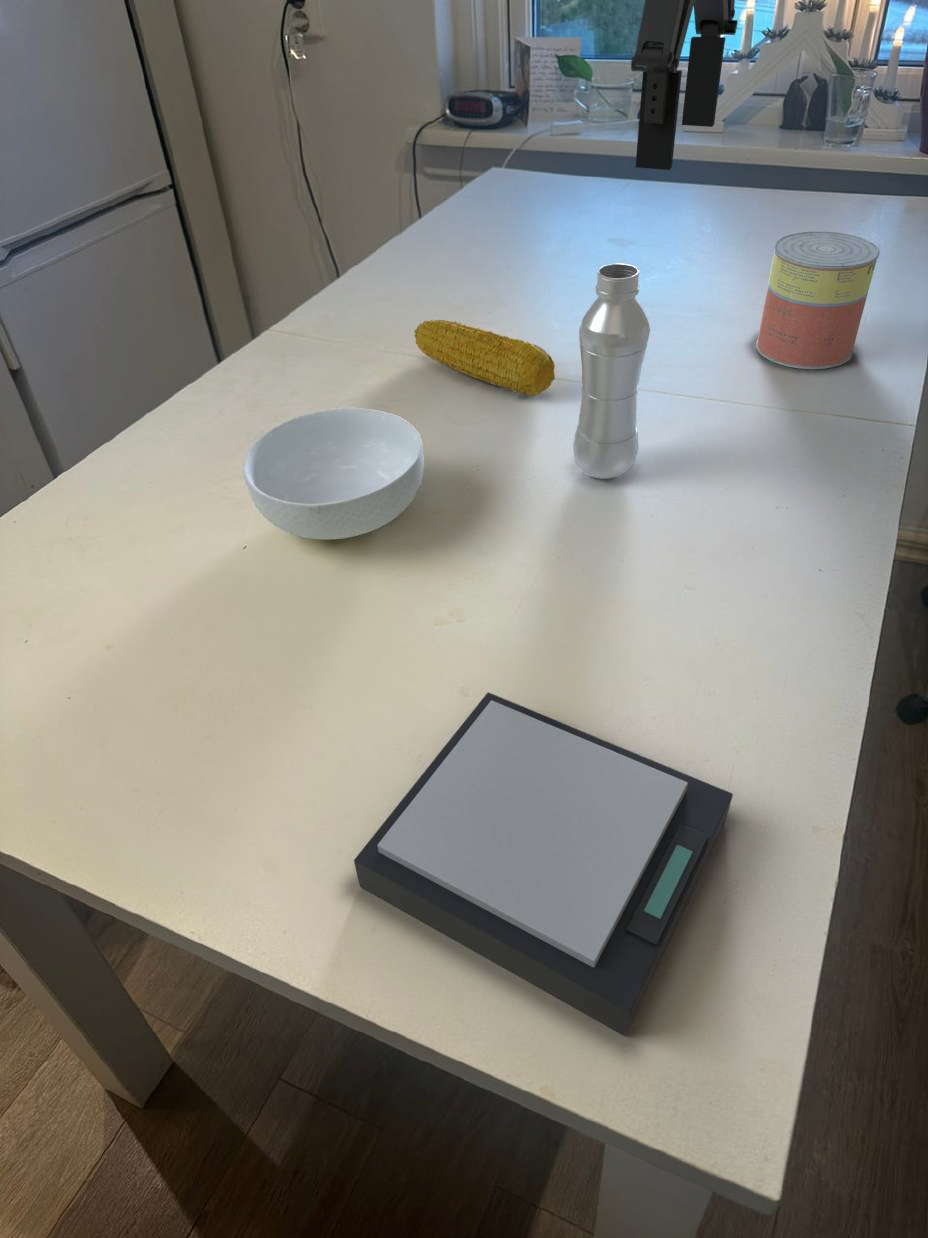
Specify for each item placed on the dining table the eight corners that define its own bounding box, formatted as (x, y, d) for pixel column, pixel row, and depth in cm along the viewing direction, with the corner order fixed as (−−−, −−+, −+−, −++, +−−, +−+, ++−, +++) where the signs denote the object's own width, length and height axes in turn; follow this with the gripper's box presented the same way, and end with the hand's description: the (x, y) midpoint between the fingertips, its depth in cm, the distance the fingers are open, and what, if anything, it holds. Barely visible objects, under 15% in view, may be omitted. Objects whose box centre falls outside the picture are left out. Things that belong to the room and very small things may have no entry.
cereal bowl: (310, 456, 94) (298, 395, 89) (454, 481, 89) (450, 419, 84) (223, 547, 82) (204, 484, 77) (383, 582, 77) (374, 516, 72)
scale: (725, 821, 57) (735, 785, 55) (625, 1037, 47) (631, 1005, 45) (489, 719, 65) (487, 683, 62) (359, 887, 55) (351, 853, 52)
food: (561, 391, 102) (562, 342, 98) (530, 410, 99) (530, 360, 95) (431, 344, 113) (427, 298, 109) (400, 359, 110) (395, 313, 106)
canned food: (872, 360, 104) (901, 257, 96) (787, 376, 102) (810, 272, 94) (818, 323, 112) (840, 225, 104) (738, 337, 110) (755, 239, 102)
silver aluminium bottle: (559, 475, 88) (566, 277, 75) (591, 445, 93) (603, 252, 79) (617, 493, 86) (634, 291, 72) (647, 462, 90) (669, 264, 76)
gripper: (704, -201, 68) (673, 107, 82) (599, -202, 52) (583, 184, 66) (804, -208, 66) (754, 111, 80) (727, -211, 49) (681, 192, 63)
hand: (677, 145), depth 73 cm, fingers open, 13 cm apart
